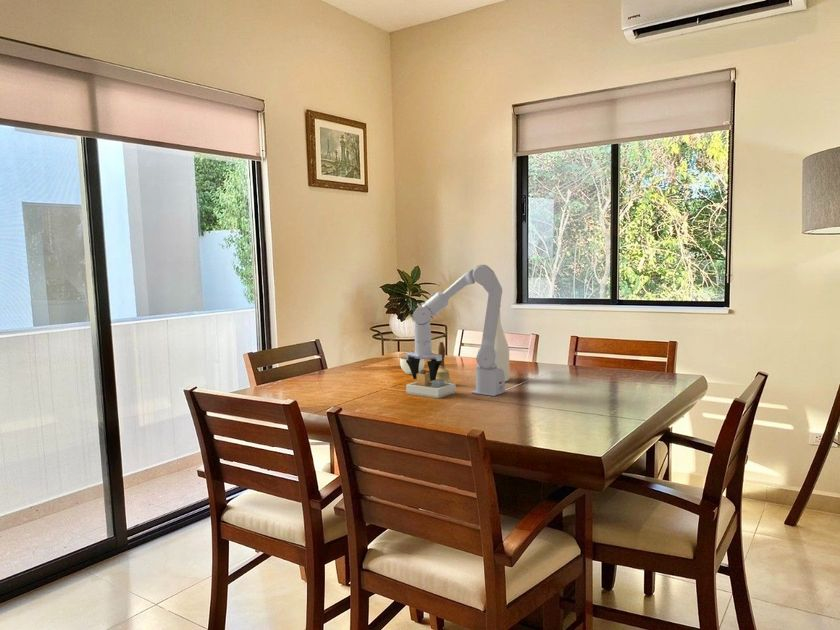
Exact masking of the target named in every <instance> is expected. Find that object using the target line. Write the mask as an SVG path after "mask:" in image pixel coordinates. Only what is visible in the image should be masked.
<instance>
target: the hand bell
mask: <svg viewBox="0 0 840 630" xmlns="http://www.w3.org/2000/svg"><path fill="white" fill-rule="evenodd" d="M438 344H439V345H438V347H437V353H438V354H439V355H442V360H441V364H440V366H439V368H438V371H437V375H436V379H442V380H444V382H445V383H453V384H455V383H454V381H452V379H451V377H450V373H449V370H448V369H447V368H445V355H446V347H445V345H444V342H443V341H439V342H438Z"/></svg>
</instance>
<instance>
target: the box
mask: <svg viewBox="0 0 840 630" xmlns="http://www.w3.org/2000/svg"><path fill="white" fill-rule="evenodd" d="M453 383H454V382H453ZM453 383H445V382H444V380H442V379H436V380H432V381H431V385H427V386H421V385H417V381H415V382H411V383H407V384H405V393H406V395H410V396H411V395H412V396H418V397H425V398H426V397H427V398H432V399H441V398H444V397H447V396H450V395H453V394H456V393H457V392H456V383H454V384H453Z"/></svg>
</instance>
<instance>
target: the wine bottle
mask: <svg viewBox="0 0 840 630" xmlns="http://www.w3.org/2000/svg"><path fill="white" fill-rule="evenodd" d="M501 305H502V304H501V303H500V308H502V307H501ZM501 320H502V319H501V309H500V310H499V317H498V323H497V330H496V337H495V344H494V351H495V354H496V356H495V362H494V363H495V364H496V365H497V368H499V369H502V370H503V371H504V374H505V383H506V382H508V381H509V380H510V376H511V375H510V374H511V373H510V372H511V369H510V367H511V366H510V348H509V344H508V341H507V338H506V336H505V332H504V330H503V326H502V323H501Z"/></svg>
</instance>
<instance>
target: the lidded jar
mask: <svg viewBox="0 0 840 630" xmlns="http://www.w3.org/2000/svg"><path fill="white" fill-rule="evenodd" d="M410 352H414V350H410ZM406 353H407V352H403V353H400V354H398V357H399V365H400V367H401V369H402V371H403V372H404V373H405V374H406V375H412V372H411V370H410V367H409V365H408V364H407V362H406V360H408V359H409V358H406ZM424 358H426V357H424ZM425 364H426V359H420V362H419V373H421V370H424V367H425Z"/></svg>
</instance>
